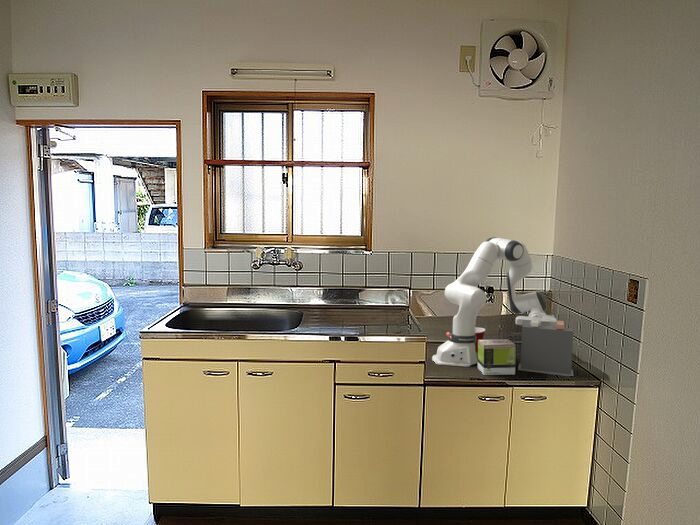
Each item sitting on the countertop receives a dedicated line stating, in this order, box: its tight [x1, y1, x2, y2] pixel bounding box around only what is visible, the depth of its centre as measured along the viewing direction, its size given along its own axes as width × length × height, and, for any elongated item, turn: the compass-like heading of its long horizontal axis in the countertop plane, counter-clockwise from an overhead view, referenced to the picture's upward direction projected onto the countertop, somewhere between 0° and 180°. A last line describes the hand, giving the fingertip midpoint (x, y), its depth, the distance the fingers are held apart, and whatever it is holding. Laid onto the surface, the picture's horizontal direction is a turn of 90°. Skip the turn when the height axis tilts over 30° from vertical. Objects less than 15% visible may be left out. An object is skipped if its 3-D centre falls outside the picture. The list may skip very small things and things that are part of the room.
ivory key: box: [531, 318, 539, 327], centre depth 229 cm, size 4×10×7 cm, turn 157°
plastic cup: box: [475, 326, 486, 353], centre depth 258 cm, size 11×11×12 cm
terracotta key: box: [555, 320, 565, 329], centre depth 225 cm, size 4×10×7 cm, turn 157°
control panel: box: [517, 324, 574, 377], centre depth 225 cm, size 24×8×21 cm, turn 67°
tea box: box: [477, 338, 517, 376], centre depth 224 cm, size 15×10×15 cm
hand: (535, 325), depth 242 cm, fingers closed
